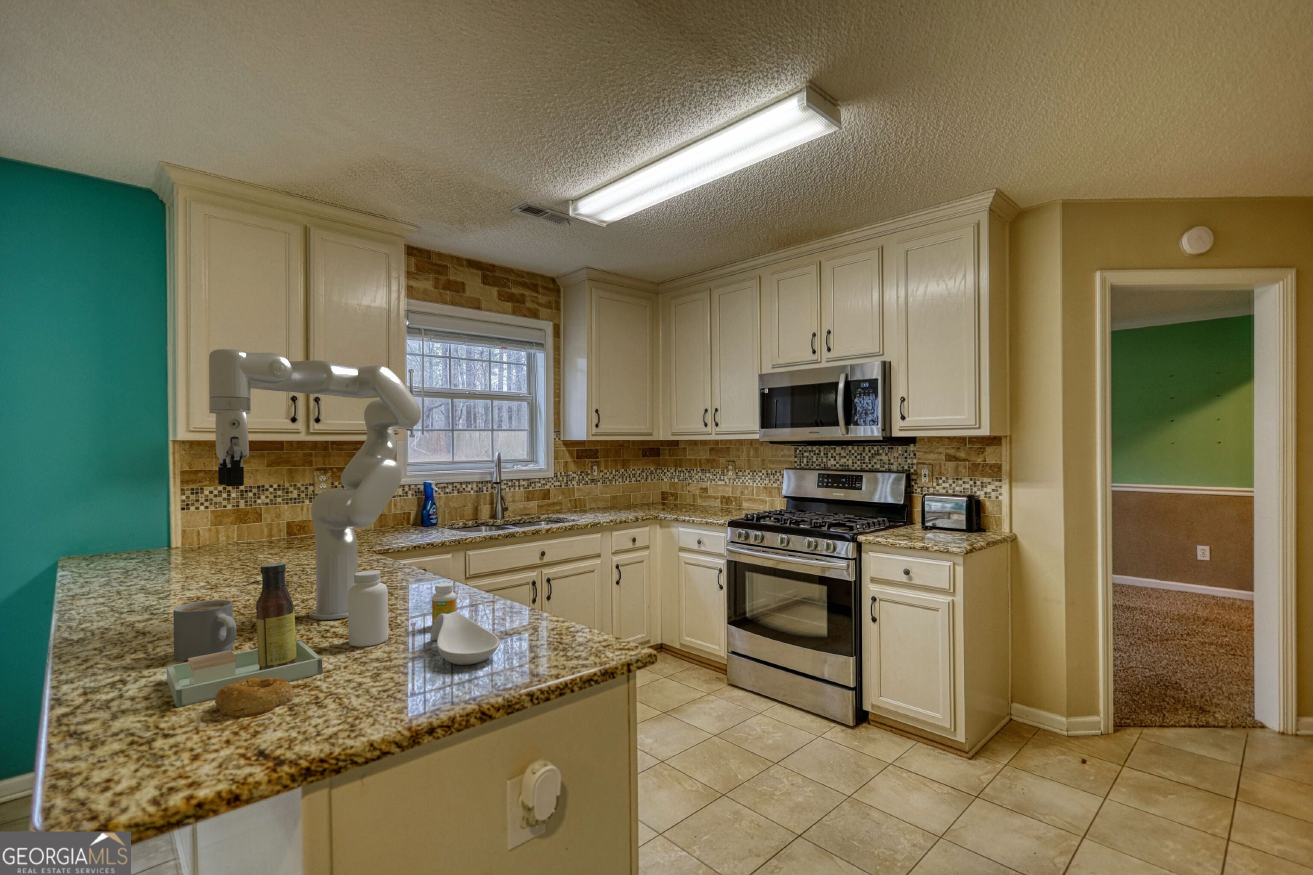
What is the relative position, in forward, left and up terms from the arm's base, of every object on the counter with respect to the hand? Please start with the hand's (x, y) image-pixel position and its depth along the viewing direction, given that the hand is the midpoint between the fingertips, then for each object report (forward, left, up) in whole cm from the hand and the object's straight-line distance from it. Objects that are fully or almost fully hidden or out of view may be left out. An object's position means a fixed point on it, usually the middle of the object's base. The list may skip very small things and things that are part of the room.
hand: (230, 485), depth 139 cm
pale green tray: (+2, +28, -34) cm, 44 cm away
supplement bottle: (-39, +20, -34) cm, 56 cm away
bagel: (+3, +43, -35) cm, 56 cm away
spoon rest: (-33, +41, -35) cm, 63 cm away
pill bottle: (-22, +20, -34) cm, 46 cm away
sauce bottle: (-3, +28, -34) cm, 44 cm away
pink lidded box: (+7, +28, -34) cm, 44 cm away
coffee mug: (+5, +6, -34) cm, 35 cm away
